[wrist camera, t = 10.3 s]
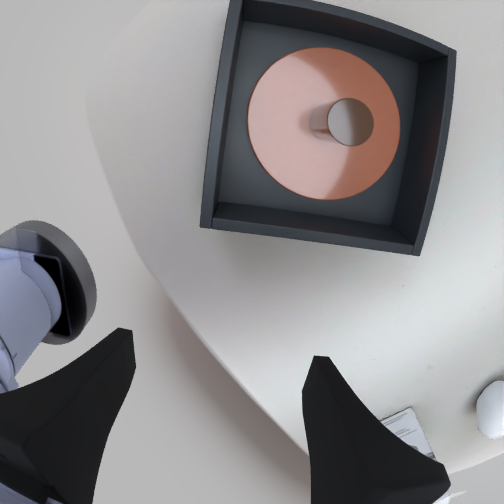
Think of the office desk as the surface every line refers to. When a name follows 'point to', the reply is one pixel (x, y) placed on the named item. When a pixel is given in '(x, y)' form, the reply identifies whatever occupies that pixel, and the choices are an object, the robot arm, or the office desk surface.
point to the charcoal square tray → (373, 198)
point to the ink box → (412, 437)
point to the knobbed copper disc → (323, 123)
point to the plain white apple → (491, 411)
